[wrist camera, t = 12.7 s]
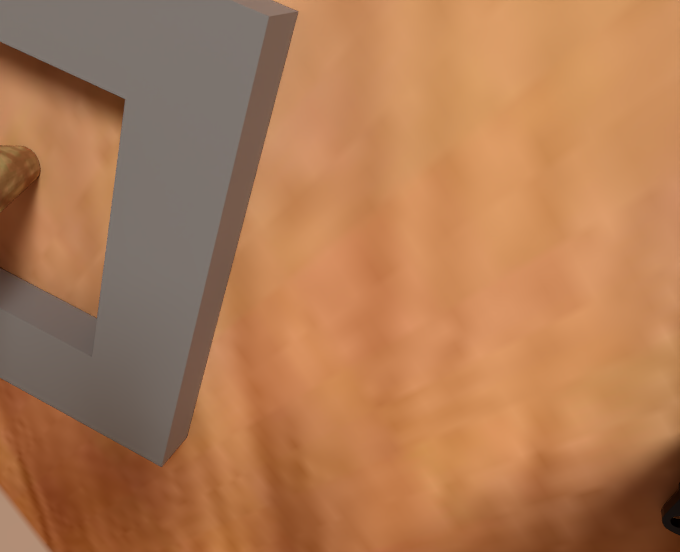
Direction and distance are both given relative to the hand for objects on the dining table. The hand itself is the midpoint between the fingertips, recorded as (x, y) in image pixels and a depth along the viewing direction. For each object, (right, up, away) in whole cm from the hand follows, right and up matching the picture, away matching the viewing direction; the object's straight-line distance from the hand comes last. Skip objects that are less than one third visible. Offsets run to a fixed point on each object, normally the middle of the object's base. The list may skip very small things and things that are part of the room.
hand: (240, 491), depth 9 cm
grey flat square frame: (-11, +7, +16) cm, 21 cm away
